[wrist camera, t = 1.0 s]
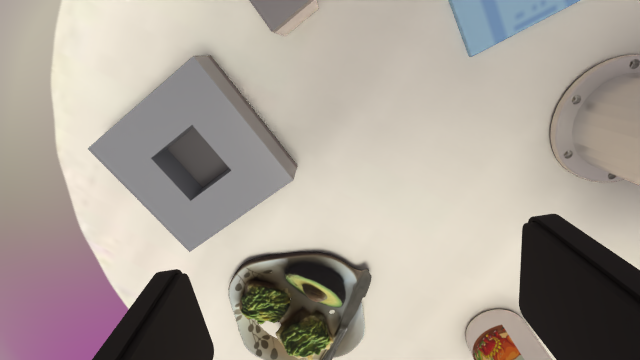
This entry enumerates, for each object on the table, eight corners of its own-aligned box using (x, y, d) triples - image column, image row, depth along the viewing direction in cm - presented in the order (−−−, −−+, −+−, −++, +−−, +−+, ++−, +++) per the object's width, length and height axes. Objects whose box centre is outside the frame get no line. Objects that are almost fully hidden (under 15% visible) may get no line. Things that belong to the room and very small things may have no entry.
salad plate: (377, 363, 47) (382, 394, 43) (252, 371, 49) (244, 402, 44) (367, 242, 41) (372, 265, 36) (222, 255, 42) (210, 278, 38)
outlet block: (210, 55, 33) (193, 56, 29) (297, 165, 37) (293, 180, 33) (115, 137, 37) (87, 148, 32) (204, 231, 40) (189, 251, 36)
